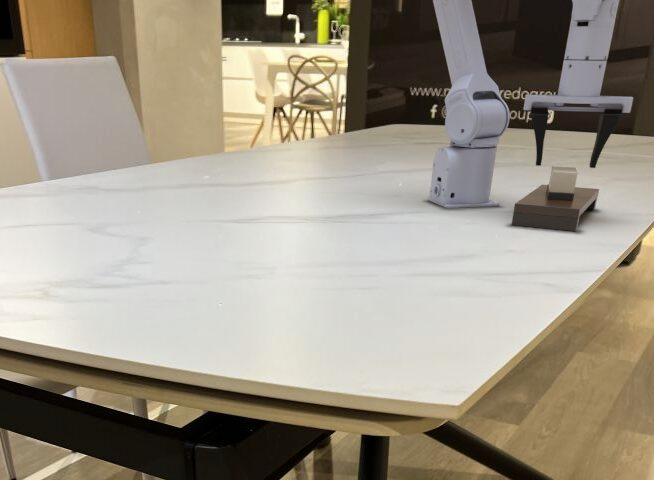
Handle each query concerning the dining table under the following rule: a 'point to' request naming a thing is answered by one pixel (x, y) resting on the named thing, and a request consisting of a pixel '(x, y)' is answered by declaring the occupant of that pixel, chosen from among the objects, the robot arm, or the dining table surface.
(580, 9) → the robot arm
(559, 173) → the beige cube on base
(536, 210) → the low wooden riser
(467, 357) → the dining table surface
